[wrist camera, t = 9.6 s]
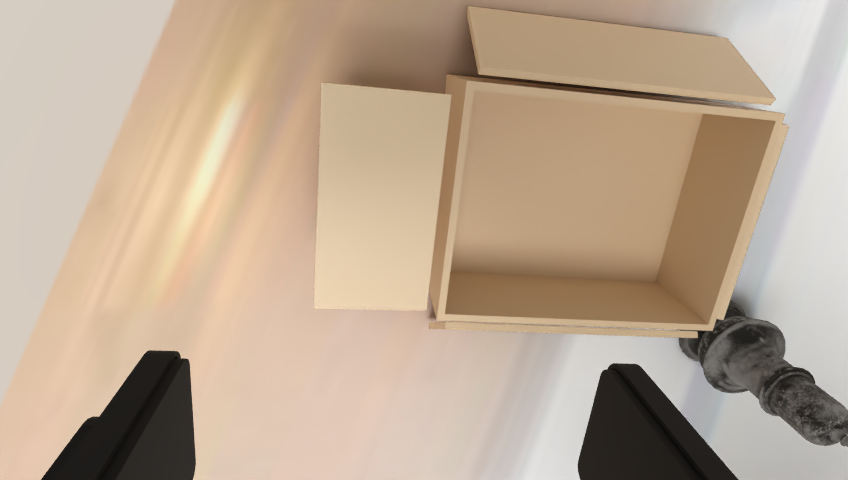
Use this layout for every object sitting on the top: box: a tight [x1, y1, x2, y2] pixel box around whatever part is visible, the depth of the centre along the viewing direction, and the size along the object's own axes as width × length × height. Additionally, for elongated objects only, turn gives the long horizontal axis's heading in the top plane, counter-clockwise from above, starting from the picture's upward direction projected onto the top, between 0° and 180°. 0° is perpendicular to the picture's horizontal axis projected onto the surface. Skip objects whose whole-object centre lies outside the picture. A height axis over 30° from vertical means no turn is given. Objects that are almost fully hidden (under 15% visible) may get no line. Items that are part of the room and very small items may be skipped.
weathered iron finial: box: [679, 301, 848, 446], centre depth 33 cm, size 6×6×12 cm
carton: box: [429, 6, 789, 338], centre depth 31 cm, size 20×20×6 cm
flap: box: [314, 82, 451, 311], centre depth 26 cm, size 1×11×6 cm
